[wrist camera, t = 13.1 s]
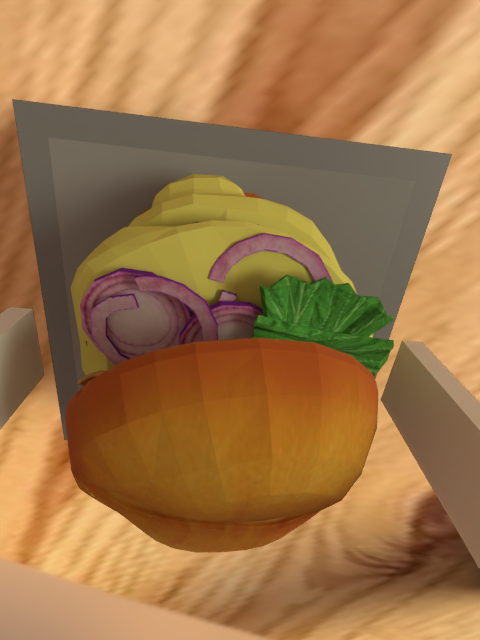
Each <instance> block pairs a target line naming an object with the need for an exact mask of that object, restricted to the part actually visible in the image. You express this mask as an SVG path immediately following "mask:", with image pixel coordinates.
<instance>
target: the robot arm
mask: <svg viewBox="0 0 480 640" xmlns="http://www.w3.org/2000/svg"><path fill="white" fill-rule="evenodd" d="M43 376H44V371H43V365H42V359H41V353H40V347H39V341H38V335H37V329H36V324H35V318H34V312H33V309H29V308H18V307H9V308H7V309H6V310H5V311H3V312H2V313H1V314H0V429H1V428H2V427H3V426H4V424H5V423H6V422H7V421H8V419H9V418H10V417H11V416H12V414H13V413H14V412H15V411H16V409H17V408H18V407H19V406H20V404H21V403H22V402H23V401H24V399H25V398H26V397H27V396H28V394H29V393H30V392H31V391H32V389H33V388H34V387H35V386H36V384H37V383H38V382H39V381H40V379H41V378H42V377H43ZM381 401H382V403H383V404H384V406H385V408H386V409H387V411H388V413H389V415H390V416H391V418H392V420H393V421H394V423H395V425H396V427H397V428H398V430H399V432H400V434H401V435H402V437H403V439H404V440H405V442H406V444H407V446H408V447H409V449H410V451H411V452H412V454H413V456H414V458H415V459H416V461H417V463H418V464H419V466H420V468H421V470H422V471H423V473H424V475H425V476H426V478H427V480H428V482H429V483H430V485H431V487H432V489H433V490H434V492H435V494H436V495H437V497H438V499H439V501H440V502H441V504H442V506H443V507H444V509H445V511H446V513H447V514H448V516H449V518H450V519H451V521H452V523H453V525H454V526H455V528H456V530H457V531H458V533H459V535H460V537H461V538H462V540H463V542H464V544H465V545H466V547H467V549H468V550H469V552H470V554H471V556H472V557H473V559H474V561H475V562H476V564H477V566H478V568H479V569H480V402H479V401H478V400H477V399H476V398H475V397H474V396H473V395H472V394H471V393H470V392H469V391H468V390H467V389H466V388H465V386H464V385H463V384H462V383H461V382H460V381H459V380H458V379H457V378H456V377H455V376H454V375H453V374H452V373H451V372H450V371H449V370H448V369H447V368H446V367H445V366H444V365H443V363H442V362H441V361H440V360H439V359H438V358H437V357H436V356H435V355H434V354H433V353H432V352H431V351H430V350H429V349H428V348H427V347H426V346H425V345H424V344H423V343H422V342H414V341H402V343H401V345H400V348H399V351H398V354H397V356H396V359H395V362H394V365H393V367H392V370H391V373H390V376H389V378H388V381H387V384H386V387H385V389H384V392H383V395H382V398H381Z"/></svg>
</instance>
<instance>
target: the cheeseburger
mask: <svg viewBox="0 0 480 640" xmlns="http://www.w3.org/2000/svg"><path fill="white" fill-rule="evenodd" d="M71 293H72V299H73V305H74V311H75V317H76V323H77V328H78V334H79V340H80V350H81V363H82V370H83V371H84V373H85V375H86V376H84V377H83V378H81V379H80V380H79V381H78V385H82V386H83V387H82V388H81V389H80V390H79V391H78V392H77V393H76V394H75V395H74V396H73V397H72V398H71V400H70V401H69V402H68V403H67V408H66V413H65V424H66V431H67V439H68V447H69V455H70V463H71V471H72V473H73V476H74V478H75V480H76V482H77V484H78V486H79V488H80V489H81V490H82V491H84V492H85V493H86V494H88V495H90V496H91V497H93V498H94V499H96V500H98V501H99V502H101V503H103V504H104V505H106V506H108V507H110V508H111V509H113V510H115V511H117V512H118V513H120V514H121V515H122V516H124V517H125V518H126V519H128V520H129V521H130V522H132V523H133V524H134V525H135V526H137V527H138V528H139V529H141V530H142V531H143V532H145V533H146V534H147V535H149V536H150V537H151V538H153V539H154V540H156V541H158V542H160V543H163V544H165V545H167V546H170V547H172V548H174V549H180V550H186V551H192V552H228V551H238V550H247V549H252V548H256V547H260V546H264V545H267V544H269V543H271V542H273V541H275V540H278V539H280V538H281V537H283V536H285V535H286V534H288V533H289V532H291V531H292V530H294V529H295V528H297V527H298V526H300V525H302V524H303V523H304V522H306V521H307V520H309V519H310V518H311V517H313V516H314V515H315V514H317V513H318V512H319V511H321V510H323V509H325V508H327V507H329V506H331V505H333V504H335V503H337V502H339V501H341V500H342V499H343V498H344V496H345V495H346V494H347V492H348V491H349V490H350V488H351V487H352V486H353V484H354V483H355V482H356V480H357V479H358V478H359V476H360V475H361V473H362V470H363V467H364V464H365V461H366V458H367V456H368V453H369V450H370V447H371V444H372V441H373V438H374V435H375V432H376V429H377V412H378V390H377V385H376V381H375V379H374V376H375V375H376V373H377V372H378V371H379V370H380V368H381V367H382V366H383V365H384V364H385V362H386V361H387V359H388V356H389V353H390V351H391V349H392V348H393V347H394V342H393V340H387V339H379V338H373V334H374V333H375V332H377V331H378V330H380V329H381V328H382V327H384V326H385V325H387V324H388V323H390V322H391V321H393V320H394V317H393V316H391V317H390V316H388V315H387V313H386V311H385V309H384V307H383V305H382V303H381V301H380V299H379V297H373V296H361V295H357V293H356V290H355V287H354V285H353V282H352V281H351V280H350V279H349V278H348V277H347V276H346V275H345V274H344V273H343V272H342V271H341V269H340V266H339V264H338V262H337V260H336V257H335V255H334V253H333V251H332V248H331V246H330V245H329V243H328V242H327V240H326V239H325V238H324V236H323V235H322V234H321V232H320V231H319V230H318V228H317V227H316V225H315V224H314V223H313V221H312V220H310V219H309V218H307V217H305V216H303V215H302V214H300V213H298V212H296V211H295V210H293V209H291V208H289V207H288V206H285V205H282V204H278V203H275V202H272V201H269V200H266V199H263V198H261V197H260V196H258V195H256V194H254V193H243V191H242V189H241V188H240V187H238V186H237V185H236V184H235V183H233V182H232V181H230V180H228V179H227V178H225V177H224V176H217V175H202V174H193V175H190V176H187V177H185V178H182V179H180V180H177V181H174V182H172V183H169V184H168V185H167V186H166V187H164V188H163V189H162V190H161V191H160V192H159V193H158V194H157V195H156V196H155V198H154V200H153V204H152V208H150V209H147V210H145V211H143V212H142V213H141V214H140V215H139V216H138V217H136V218H135V219H134V220H133V221H132V222H131V223H130V225H129V226H128V227H124V228H122V229H121V230H119V231H118V232H116V233H115V234H113V235H112V236H110V237H109V238H107V239H106V240H104V241H103V242H102V243H101V244H100V245H99V246H98V247H97V248H96V249H95V250H94V251H93V252H92V253H90V254H89V256H88V257H87V258H86V259H85V260H84V261H83V263H82V264H81V265H80V266H79V267H78V268H77V271H76V274H75V277H74V280H73V282H72V285H71Z"/></svg>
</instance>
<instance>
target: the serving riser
mask: <svg viewBox="0 0 480 640" xmlns="http://www.w3.org/2000/svg"><path fill="white" fill-rule="evenodd" d="M12 100H13V106H14V113H15V119H16V126H17V132H18V139H19V146H20V152H21V159H22V165H23V172H24V178H25V185H26V191H27V198H28V204H29V211H30V218H31V224H32V231H33V237H34V244H35V250H36V257H37V263H38V270H39V276H40V283H41V290H42V296H43V303H44V309H45V316H46V322H47V329H48V335H49V342H50V348H51V355H52V362H53V368H54V375H55V381H56V388H57V394H58V401H59V407H60V414H61V420H62V427H63V434H64V440H68V439H67V431H66V424H65V413H66V408H67V403H68V402H69V401H70V400H71V398H72V397H73V396H74V395H75V394H76V393H77V392H78V391H79V390H80V389H81V388H82V387H83V386H82V385H78V381H79V380H80V379H81V378H83V377H84V376H86V375H85V373H84V371H83V370H82V363H81V350H80V340H79V334H78V328H77V323H76V317H75V311H74V305H73V299H72V293H71V285H72V282H73V280H74V277H75V274H76V271H77V268H78V267H79V266H80V265H81V264H82V263H83V261H84V260H85V259H86V258H87V257H88V256H89V254H90V253H92V252H93V251H94V250H95V249H96V248H97V247H98V246H99V245H100V244H101V243H102V242H103V241H104V240H106V239H107V238H109V237H110V236H112V235H113V234H115V233H116V232H118V231H119V230H121V229H122V228H124V227H128V226H129V225H130V223H131V222H132V221H133V220H134V219H135V218H136V217H138V216H139V215H140V214H141V213H142V212H143V211H145V210H147V209H150V208H152V204H153V200H154V198H155V196H156V195H157V194H158V193H159V192H160V191H161V190H162V189H163V188H164V187H166V186H167V185H168V184H169V183H172V182H174V181H177V180H180V179H182V178H185V177H187V176H190V175H193V174H202V175H217V176H224V177H225V178H227V179H228V180H230V181H232V182H233V183H235V184H236V185H237V186H238V187H240V188H241V189H242V191H243V193H254V194H256V195H258V196H260V197H261V198H263V199H266V200H269V201H272V202H275V203H278V204H282V205H285V206H288V207H289V208H291V209H293V210H295V211H296V212H298V213H300V214H302V215H303V216H305V217H307V218H309V219H310V220H312V221H313V223H314V224H315V225H316V227H317V228H318V230H319V231H320V232H321V234H322V235H323V236H324V238H325V239H326V240H327V242H328V243H329V245H330V246H331V248H332V251H333V253H334V255H335V257H336V260H337V262H338V264H339V266H340V269H341V271H342V272H343V273H344V274H345V275H346V276H347V277H348V278H349V279H350V280H351V281H352V282H353V285H354V287H355V290H356V293H357V295H361V296H373V297H379V299H380V301H381V303H382V305H383V307H384V309H385V311H386V313H387V315H388V316H390V317H391V316H393V317H394V320H393V321H391V322H390V323H388V324H387V325H385V326H384V327H382V328H381V329H380V330H378V331H377V332H375V333H374V334H373V338H379V339H387V340H389V337H390V334H391V331H392V328H393V325H394V322H395V320H396V317H397V314H398V311H399V308H400V305H401V302H402V299H403V296H404V293H405V290H406V287H407V284H408V281H409V279H410V276H411V273H412V270H413V267H414V264H415V261H416V258H417V255H418V252H419V249H420V246H421V243H422V241H423V238H424V235H425V232H426V229H427V226H428V223H429V220H430V217H431V214H432V211H433V208H434V205H435V203H436V200H437V197H438V194H439V191H440V188H441V185H442V182H443V179H444V176H445V173H446V170H447V167H448V165H449V162H450V159H451V156H452V154H446V153H438V152H430V151H422V150H414V149H406V148H398V147H390V146H382V145H374V144H366V143H358V142H350V141H342V140H334V139H326V138H318V137H310V136H302V135H294V134H286V133H278V132H270V131H262V130H254V129H246V128H238V127H230V126H222V125H214V124H206V123H198V122H190V121H182V120H174V119H166V118H158V117H150V116H142V115H134V114H126V113H118V112H110V111H102V110H94V109H86V108H78V107H70V106H62V105H54V104H46V103H38V102H30V101H22V100H14V99H12ZM376 375H377V373H376ZM376 375H375V376H374V379H375V378H376Z"/></svg>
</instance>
